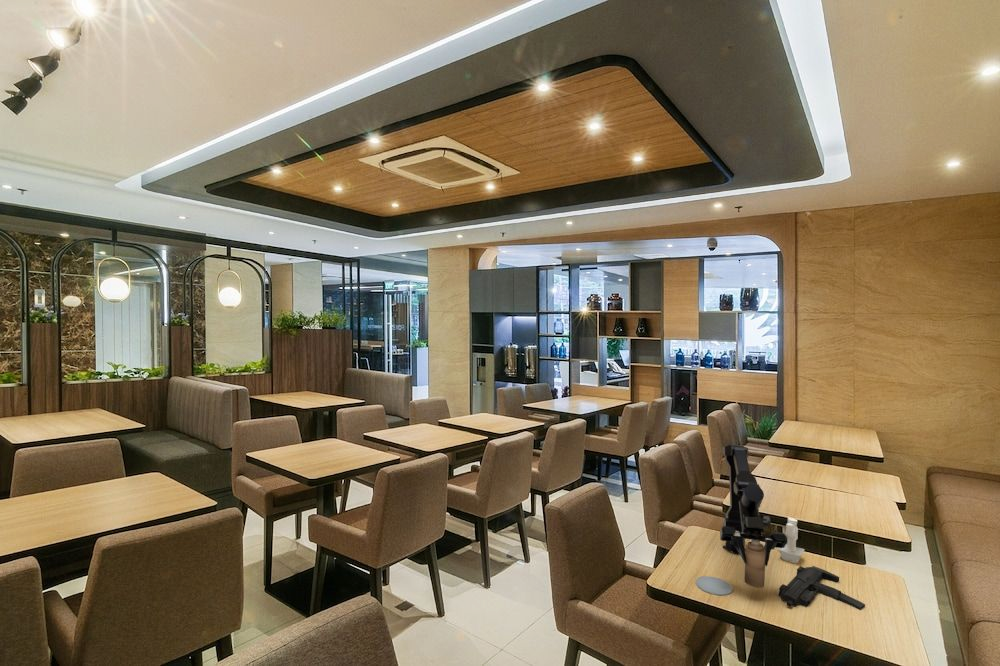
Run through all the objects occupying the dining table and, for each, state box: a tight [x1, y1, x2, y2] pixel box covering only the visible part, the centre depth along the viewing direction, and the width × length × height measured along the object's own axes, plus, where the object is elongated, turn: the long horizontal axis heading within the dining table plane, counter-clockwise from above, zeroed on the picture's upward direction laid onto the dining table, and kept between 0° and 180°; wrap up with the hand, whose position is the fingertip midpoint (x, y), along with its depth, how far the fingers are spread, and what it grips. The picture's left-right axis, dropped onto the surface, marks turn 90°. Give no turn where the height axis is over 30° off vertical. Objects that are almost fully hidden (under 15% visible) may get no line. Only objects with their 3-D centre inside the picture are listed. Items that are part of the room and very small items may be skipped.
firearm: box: [778, 565, 866, 611], centre depth 158 cm, size 3×30×20 cm
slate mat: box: [695, 575, 733, 596], centre depth 164 cm, size 11×11×1 cm
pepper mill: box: [744, 539, 766, 589], centre depth 157 cm, size 6×6×13 cm
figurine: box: [777, 517, 806, 565], centre depth 183 cm, size 7×9×15 cm
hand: (755, 564), depth 156 cm, fingers closed on pepper mill, 6 cm apart
